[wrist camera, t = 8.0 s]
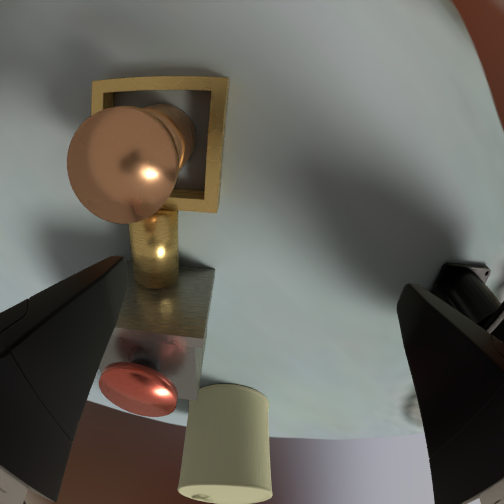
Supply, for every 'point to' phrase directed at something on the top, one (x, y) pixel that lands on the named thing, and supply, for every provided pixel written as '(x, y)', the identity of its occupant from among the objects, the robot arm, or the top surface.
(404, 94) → the top surface
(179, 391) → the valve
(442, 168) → the top surface
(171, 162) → the stub
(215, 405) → the can
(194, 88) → the socket
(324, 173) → the top surface
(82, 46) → the top surface
